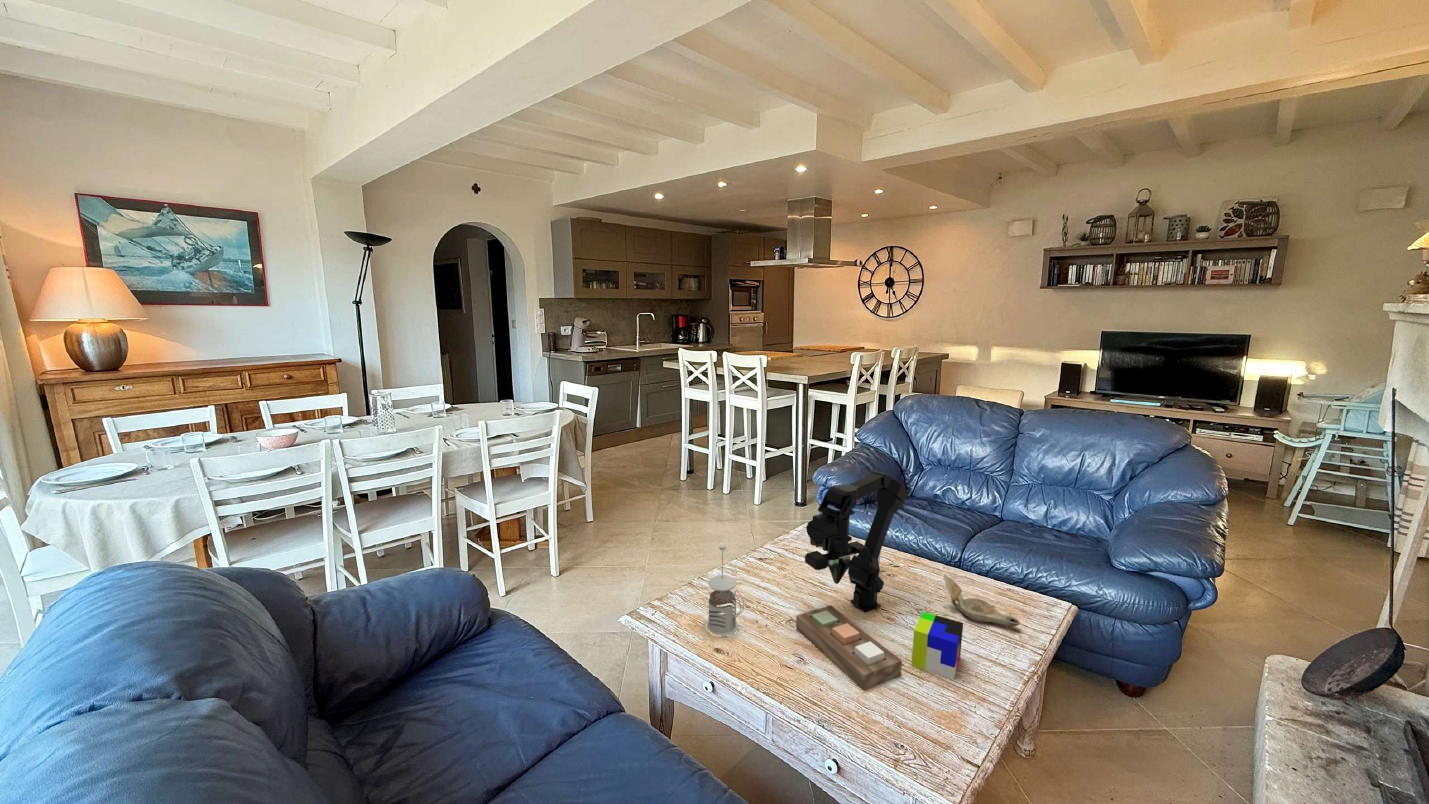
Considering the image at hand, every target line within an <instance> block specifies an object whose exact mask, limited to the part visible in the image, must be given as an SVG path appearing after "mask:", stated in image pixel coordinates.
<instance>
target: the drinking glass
mask: <svg viewBox="0 0 1429 804" xmlns="http://www.w3.org/2000/svg"><path fill="white" fill-rule="evenodd" d="M865 542H866V540H865V541H862V542H860V543H861V544H863V545H864V544H865ZM881 554H882V550H881V551H880V554H879V557H878V562H879V565H880V564H881Z"/></svg>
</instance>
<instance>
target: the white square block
mask: <svg viewBox="0 0 1429 804" xmlns="http://www.w3.org/2000/svg"><path fill="white" fill-rule="evenodd" d="M854 655H855V656H856V657H857V658H859V659H860V660H861V661H862V662H863V663H865V664H866V665H867V666H871V665H873V664H876V663H879V662H881V661H884V652H883V651H882V650H881V649H879V648H878V647H877V646H876V645H874V644H873V643H872V642H871V641H870V642H867V643H864V644H861V645H858V646H855V654H854Z"/></svg>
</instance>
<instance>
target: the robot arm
mask: <svg viewBox="0 0 1429 804" xmlns="http://www.w3.org/2000/svg"><path fill="white" fill-rule="evenodd" d="M874 492H876V493H875V494H876V495H875V499H876V505H877V509H876V511H875V514H874V517H873V520H872V523H871V524H870V528H869V532H868V534H867V537H866V538H865V541H866V542H865V541H864V542H865V544H864V545H863V544H861V543H862V542H859V541H853V537H852V536H850V517H851V516H852V515H854V514H855V510H853V509H855V507H856V506H857V505H858V501H860V499H863V498H865V497H867V496H869V495H870V494H872V493H874ZM908 493H909V492H908V490H907V488H906V486H905V485H903V484H901V483H899V482H898V481H896V480H895V479H893V477H891V476H890V475H889V474H888V473H884V472H881V471H877V470H875V471H873V472H871V474H869V475H867V476H864V477H862V478H860V479H858V480H856V481H854V482H852V483H850V484H836V485H832V486H830V487H829V488H828V489H827V490H826V492H825V494H824V496H823V498H822V501H821V502H820V504H819V507H818V509H817V511H818V512H819V514H815V515H813V516H812V520H811V519H810V521H808V522H807V525H806V527H805V528H806V532H807V533H806V534H807V536H808V537H809V542H810V543H809V544H810V545H811V546H815V548H822V550H823V551H824V552H826V553H821V552H820V551H818V550H815V551H810V552H807V553H805V555H804V563H806V564H807V565H808V566H809V567H811V568H812V569H813V570H815V571H822V570H825V569H827V568H828V569H829V572H830V575H831V577H832V581H833V583H834V584H836V585H838V584H839V583H840V581H842V579H843V577H844V576H845V574H846V572H847V575H848V577H849V582H850V583H851V584H854V590H853V599H851V600H850V603H851V604H853V605H854V606H855V607H856V608H858V609H859V610H860V611H862V612H864V613H865V612H866V613H867V612H869V611H872V610H875V609H878V608H881V604H879V603H878V593H879V594H880V593H881V591H882V590H883V588H884V586H885V585H884V584H885V582H884V580H883V579H882V578H881V577H880V576H879V575H880V571H881V568H880V564H879V562H878V557H879V554H880V551H881V552H882V548H883V545H884V542H885V540H886V537H887V534H888V531H889V528H890V526H891V523H892V520H893V516H894V514H895V513H896V512H898V511H900V510H901V508H903V506H904V504H905V501H906V500H907V498H908V496H909V495H908ZM828 506H829V507H828ZM833 508H835V509H833ZM851 541H853V542H851ZM880 555H881V554H880ZM851 556H852V558H851Z"/></svg>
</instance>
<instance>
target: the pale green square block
mask: <svg viewBox="0 0 1429 804" xmlns="http://www.w3.org/2000/svg"><path fill="white" fill-rule="evenodd" d="M812 619H813V620H814V621H815V622H817V623H818V624H819V625H820V626H821V627H822V628H823V627H826V626H829V625H832V624H836V623H838V619H837V618H835V617H834V616H833V615H832V614H830V613H829V612H828V611H827V610H826V611H823V612H820V613H816V614H813V615H812Z"/></svg>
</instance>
